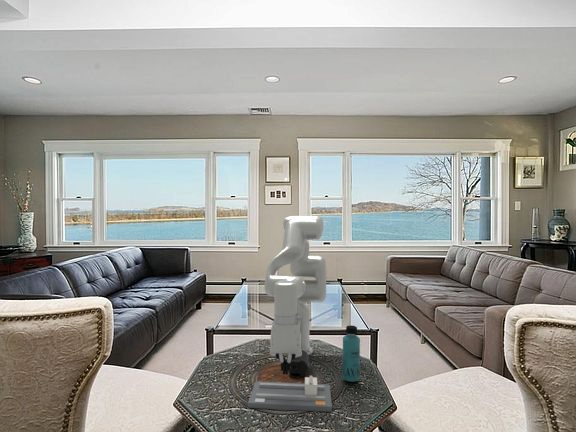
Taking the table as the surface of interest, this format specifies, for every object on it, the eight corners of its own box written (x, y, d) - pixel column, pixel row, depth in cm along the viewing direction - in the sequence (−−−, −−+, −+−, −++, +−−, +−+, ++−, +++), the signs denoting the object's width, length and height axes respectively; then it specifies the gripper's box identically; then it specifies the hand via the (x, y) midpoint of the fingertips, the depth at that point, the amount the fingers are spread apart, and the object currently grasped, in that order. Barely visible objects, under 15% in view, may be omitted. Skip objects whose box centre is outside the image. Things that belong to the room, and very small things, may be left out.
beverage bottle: (337, 380, 126) (338, 326, 126) (349, 375, 130) (350, 322, 130) (352, 387, 121) (352, 330, 121) (363, 382, 125) (364, 326, 125)
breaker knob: (304, 389, 116) (305, 375, 116) (316, 389, 116) (317, 375, 116) (304, 396, 111) (304, 382, 111) (317, 397, 111) (317, 383, 111)
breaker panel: (255, 385, 122) (255, 378, 122) (329, 388, 120) (329, 381, 120) (248, 407, 108) (248, 399, 108) (331, 411, 106) (332, 403, 106)
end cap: (308, 378, 127) (308, 360, 127) (288, 377, 128) (289, 359, 128) (308, 367, 137) (308, 350, 137) (290, 366, 138) (291, 349, 138)
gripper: (308, 315, 117) (308, 368, 118) (264, 314, 118) (264, 366, 119) (308, 323, 110) (308, 379, 111) (261, 321, 111) (261, 377, 112)
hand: (285, 372), depth 115 cm, fingers closed
